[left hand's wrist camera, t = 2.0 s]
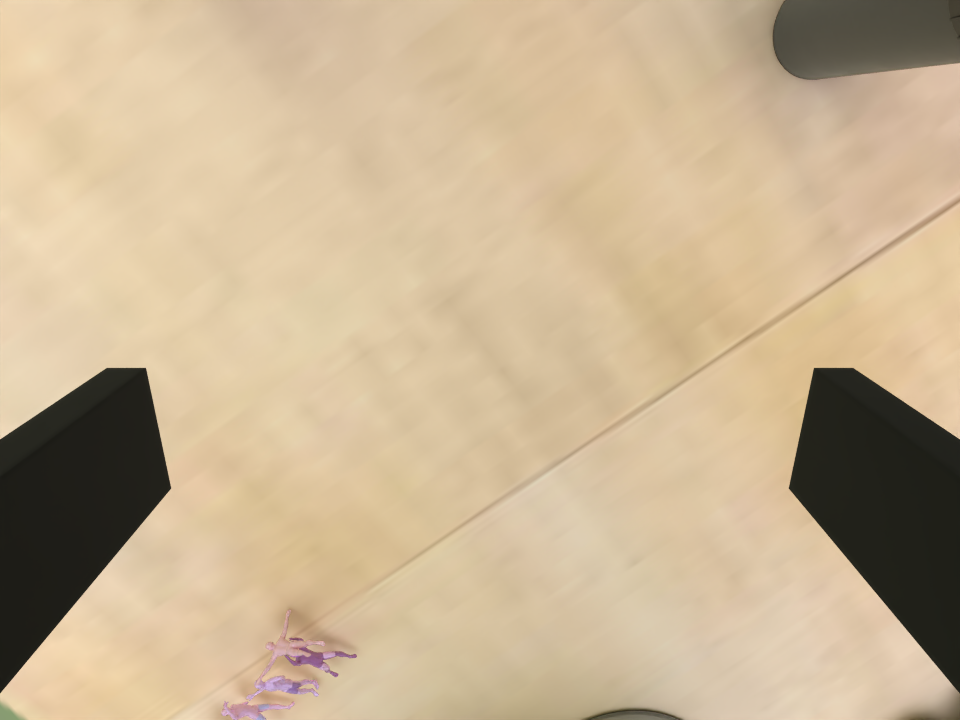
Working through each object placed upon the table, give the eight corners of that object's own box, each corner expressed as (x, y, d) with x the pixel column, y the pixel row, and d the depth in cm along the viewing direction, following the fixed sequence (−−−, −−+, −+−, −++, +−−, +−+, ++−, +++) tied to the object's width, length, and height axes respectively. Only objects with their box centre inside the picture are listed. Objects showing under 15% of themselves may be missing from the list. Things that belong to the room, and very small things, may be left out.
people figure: (243, 784, 52) (158, 774, 48) (246, 713, 57) (168, 698, 52) (391, 673, 48) (312, 650, 44) (382, 606, 52) (309, 580, 48)
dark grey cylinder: (814, 99, 36) (1042, 87, 21) (753, 35, 35) (950, -24, 20) (887, 21, 35) (1186, -51, 20) (826, -49, 33) (1097, -179, 19)
